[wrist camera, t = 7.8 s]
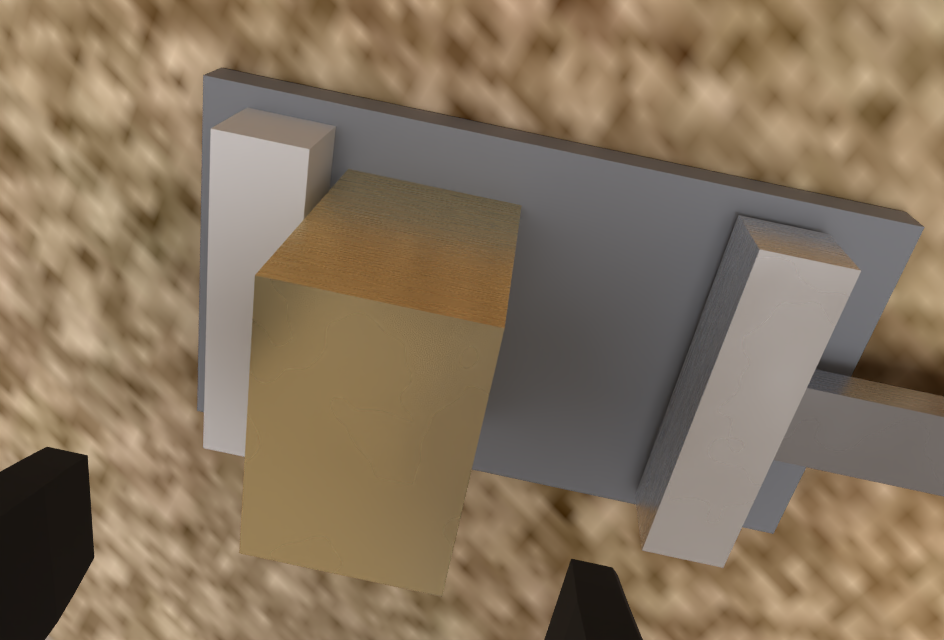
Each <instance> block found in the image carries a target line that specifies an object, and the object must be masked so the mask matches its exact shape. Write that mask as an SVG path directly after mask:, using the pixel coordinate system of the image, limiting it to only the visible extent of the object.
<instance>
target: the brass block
mask: <svg viewBox="0 0 944 640" xmlns="http://www.w3.org/2000/svg"><path fill="white" fill-rule="evenodd" d="M521 206H522V205H517V204H513V203H508V202H503V201H498V200H494V199H489V198H484V197H480V196H475V195H470V194H465V193H461V192H456V191H451V190H446V189H442V188H437V187H432V186H427V185H423V184H418V183H413V182H409V181H404V180H399V179H394V178H390V177H385V176H380V175H375V174H371V173H366V172H361V171H356V170H352V169H348V170H347V171H346V172H345V173H344V174H343V176H342V177H341V178H340V179H339V180H338V181H337V182H336V184H335V185H334V186H333V187H332V188H331V189H330V190H329V191H328V193H327V194H326V195H325V196H324V197H323V198H322V199H321V201H320V202H319V203H318V204H317V205H316V206H315V207H314V209H313V210H312V211H311V212H310V213H309V214H308V215H307V216H306V218H305V219H304V220H303V221H302V222H301V223H300V224H299V226H298V227H297V228H296V229H295V230H294V231H293V232H292V234H291V235H290V236H289V237H288V238H287V239H286V240H285V241H284V243H283V244H282V245H281V246H280V247H279V248H278V249H277V251H276V252H275V253H274V254H273V255H272V256H271V257H270V259H269V260H268V261H267V262H266V263H265V264H264V265H263V266H262V268H261V269H260V270H259V271H258V272H257V273H256V274H255V281H254V299H253V317H252V335H251V353H250V371H249V389H248V407H247V425H246V443H245V461H244V479H243V497H242V515H241V533H240V551H239V553H241V554H245V555H250V556H255V557H259V558H264V559H269V560H273V561H278V562H283V563H287V564H292V565H297V566H301V567H306V568H311V569H315V570H320V571H325V572H329V573H334V574H339V575H343V576H348V577H353V578H357V579H362V580H367V581H371V582H376V583H381V584H385V585H390V586H395V587H399V588H404V589H409V590H413V591H418V592H423V593H427V594H432V595H436V596H441V597H442V595H443V590H444V586H445V582H446V577H447V573H448V569H449V565H450V560H451V556H452V552H453V547H454V543H455V539H456V535H457V530H458V526H459V522H460V517H461V513H462V509H463V505H464V500H465V496H466V492H467V487H468V483H469V479H470V475H471V470H472V466H473V462H474V457H475V453H476V449H477V444H478V440H479V436H480V432H481V427H482V423H483V419H484V414H485V410H486V406H487V402H488V397H489V393H490V389H491V384H492V380H493V376H494V372H495V367H496V363H497V359H498V354H499V350H500V346H501V342H502V337H503V333H504V329H505V322H506V315H507V307H508V300H509V293H510V286H511V278H512V271H513V264H514V257H515V249H516V242H517V235H518V228H519V221H520V213H521Z"/></svg>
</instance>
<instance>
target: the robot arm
mask: <svg viewBox="0 0 944 640" xmlns="http://www.w3.org/2000/svg"><path fill="white" fill-rule="evenodd" d="M93 559H94V545H93V530H92V515H91V500H90V485H89V470H88V455H83V454H79V453H74V452H69V451H65V450H60V449H55V448H51V447H46V448H44V449H42V450H40V451H38V452H36V453H34V454H32V455H30V456H28V457H26V458H25V459H23V460H21V461H19V462H17V463H15V464H13V465H12V466H10V467H8V468H6V469H4V470H3V471H1V472H0V640H45V639H46V638H47V636H48V635H49V633H50V632H51V631H52V629H53V628H54V626H55V625H56V624H57V622H58V621H59V619H60V617H61V615H62V614H63V612H64V610H65V609H66V607H67V605H68V604H69V602H70V600H71V598H72V597H73V595H74V593H75V592H76V590H77V588H78V586H79V584H80V583H81V581H82V579H83V577H84V575H85V574H86V572H87V570H88V568H89V566H90V564H91V563H92V561H93ZM544 640H643V639H642V637H641V634H640V632H639V629H638V627H637V624H636V622H635V620H634V617H633V615H632V612H631V609H630V607H629V604H628V602H627V599H626V596H625V594H624V591H623V589H622V586H621V583H620V580H619V578H618V575H617V573H616V572H615V570H614V569H613V568H612V567H607V566H603V565H598V564H593V563H589V562H584V561H579V560H575V559H571V561H570V564H569V567H568V570H567V573H566V576H565V579H564V582H563V585H562V588H561V591H560V594H559V597H558V600H557V603H556V606H555V609H554V612H553V615H552V618H551V621H550V624H549V627H548V630H547V633H546V636H545V639H544Z"/></svg>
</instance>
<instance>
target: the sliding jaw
mask: <svg viewBox="0 0 944 640" xmlns="http://www.w3.org/2000/svg"><path fill="white" fill-rule="evenodd" d="M860 273H861V270H860V269H859V268H858V267H857V265H856V264H855V263H854V262H853V261H852V260H851V259H850V257H849V256H848V255H847V254H846V253H845V252H844V251H843V250H842V248H841V247H840V246H839V245H838V244H837V243H836V242H835V240H834V239H833V238H832V237H831V236H830V235H829V234H826V233H821V232H816V231H811V230H807V229H802V228H797V227H792V226H788V225H783V224H778V223H773V222H769V221H764V220H759V219H754V218H750V217H745V216H740V215H738V218H737V220H736V223H735V226H734V228H733V231H732V234H731V237H730V239H729V242H728V245H727V247H726V250H725V253H724V256H723V258H722V261H721V264H720V266H719V269H718V272H717V275H716V277H715V280H714V283H713V285H712V288H711V291H710V294H709V296H708V299H707V302H706V304H705V307H704V310H703V313H702V315H701V318H700V321H699V323H698V326H697V329H696V332H695V334H694V337H693V340H692V343H691V345H690V348H689V351H688V353H687V356H686V359H685V362H684V364H683V367H682V370H681V372H680V375H679V378H678V381H677V383H676V386H675V389H674V391H673V394H672V397H671V400H670V402H669V405H668V408H667V410H666V413H665V416H664V419H663V421H662V424H661V427H660V429H659V432H658V435H657V438H656V440H655V443H654V446H653V448H652V451H651V454H650V457H649V459H648V462H647V465H646V467H645V470H644V473H643V476H642V478H641V481H640V484H639V486H638V489H637V492H636V495H635V500H636V508H637V516H638V523H639V531H640V538H641V546H642V550H643V551H647V552H652V553H657V554H661V555H666V556H671V557H675V558H680V559H685V560H689V561H694V562H699V563H703V564H708V565H713V566H717V567H722V568H723V567H724V565H725V563H726V561H727V558H728V556H729V554H730V552H731V550H732V548H733V546H734V543H735V541H736V539H737V537H738V535H739V533H740V530H741V528H742V526H743V524H744V522H745V520H746V518H747V515H748V513H749V511H750V509H751V507H752V505H753V503H754V500H755V498H756V496H757V494H758V492H759V490H760V488H761V485H762V483H763V481H764V479H765V477H766V475H767V472H768V470H769V468H770V466H771V464H772V462H773V460H775V461H780V462H785V463H789V464H794V465H799V466H804V467H808V468H813V469H818V470H822V471H827V472H832V473H836V474H841V475H846V476H850V477H855V478H860V479H865V480H869V481H874V482H879V483H883V484H888V485H893V486H897V487H902V488H907V489H911V490H916V491H921V492H926V493H930V494H935V495H940V496H944V396H939V395H934V394H930V393H925V392H920V391H916V390H911V389H906V388H901V387H897V386H892V385H887V384H883V383H878V382H873V381H868V380H864V379H859V378H854V377H850V376H845V375H840V374H835V373H831V372H826V371H821V370H817V369H816V367H817V365H818V363H819V361H820V359H821V356H822V354H823V352H824V350H825V348H826V346H827V343H828V341H829V339H830V337H831V335H832V333H833V331H834V328H835V326H836V324H837V322H838V320H839V318H840V316H841V313H842V311H843V309H844V307H845V305H846V303H847V300H848V298H849V296H850V294H851V292H852V290H853V288H854V285H855V283H856V281H857V279H858V277H859V275H860Z"/></svg>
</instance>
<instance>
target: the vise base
mask: <svg viewBox="0 0 944 640" xmlns="http://www.w3.org/2000/svg"><path fill="white" fill-rule="evenodd" d="M348 169H352V170H356V171H361V172H366V173H371V174H375V175H380V176H385V177H390V178H394V179H399V180H404V181H409V182H413V183H418V184H423V185H427V186H432V187H437V188H442V189H446V190H451V191H456V192H461V193H465V194H470V195H475V196H480V197H484V198H489V199H494V200H498V201H503V202H508V203H513V204H517V205H522V206H521V213H520V221H519V228H518V235H517V242H516V249H515V257H514V264H513V271H512V278H511V286H510V293H509V300H508V307H507V315H506V322H505V329H504V333H503V337H502V342H501V346H500V350H499V354H498V359H497V363H496V367H495V372H494V376H493V380H492V384H491V389H490V393H489V397H488V402H487V406H486V410H485V414H484V419H483V423H482V427H481V432H480V436H479V440H478V444H477V449H476V453H475V457H474V462H473V466H472V469H473V470H477V471H482V472H487V473H491V474H496V475H501V476H505V477H510V478H515V479H520V480H524V481H529V482H534V483H538V484H543V485H548V486H552V487H557V488H562V489H566V490H571V491H576V492H580V493H585V494H590V495H594V496H599V497H604V498H608V499H613V500H618V501H622V502H627V503H632V504H636V500H635V495H636V492H637V489H638V486H639V484H640V481H641V478H642V476H643V473H644V470H645V467H646V465H647V462H648V459H649V457H650V454H651V451H652V448H653V446H654V443H655V440H656V438H657V435H658V432H659V429H660V427H661V424H662V421H663V419H664V416H665V413H666V410H667V408H668V405H669V402H670V400H671V397H672V394H673V391H674V389H675V386H676V383H677V381H678V378H679V375H680V372H681V370H682V367H683V364H684V362H685V359H686V356H687V353H688V351H689V348H690V345H691V343H692V340H693V337H694V334H695V332H696V329H697V326H698V323H699V321H700V318H701V315H702V313H703V310H704V307H705V304H706V302H707V299H708V296H709V294H710V291H711V288H712V285H713V283H714V280H715V277H716V275H717V272H718V269H719V266H720V264H721V261H722V258H723V256H724V253H725V250H726V247H727V245H728V242H729V239H730V237H731V234H732V231H733V228H734V226H735V223H736V220H737V218H738V215H740V216H745V217H750V218H754V219H759V220H764V221H769V222H773V223H778V224H783V225H788V226H792V227H797V228H802V229H807V230H811V231H816V232H821V233H826V234H829V235H830V236H831V237H832V238H833V239H834V240H835V242H836V243H837V244H838V245H839V246H840V247H841V248H842V250H843V251H844V252H845V253H846V254H847V255H848V256H849V257H850V259H851V260H852V261H853V262H854V263H855V264H856V265H857V267H858V268H859V269H860V270H861V273H860V275H859V277H858V279H857V281H856V283H855V285H854V288H853V290H852V292H851V294H850V296H849V298H848V300H847V303H846V305H845V307H844V309H843V311H842V313H841V316H840V318H839V320H838V322H837V324H836V326H835V328H834V331H833V333H832V335H831V337H830V339H829V341H828V343H827V346H826V348H825V350H824V352H823V354H822V356H821V359H820V361H819V363H818V365H817V367H816V369H817V370H821V371H826V372H831V373H835V374H840V375H845V376H850V377H851V375H852V373H853V371H854V369H855V367H856V365H857V363H858V361H859V359H860V357H861V355H862V353H863V351H864V349H865V347H866V345H867V343H868V341H869V339H870V337H871V335H872V333H873V331H874V329H875V327H876V325H877V323H878V320H879V318H880V316H881V314H882V312H883V310H884V308H885V306H886V304H887V302H888V300H889V298H890V296H891V294H892V292H893V290H894V288H895V286H896V284H897V282H898V280H899V278H900V276H901V274H902V272H903V270H904V268H905V266H906V264H907V262H908V260H909V258H910V256H911V254H912V252H913V250H914V248H915V245H916V243H917V241H918V239H919V237H920V235H921V233H922V231H923V229H924V226H922V225H921V224H920V223H919V222H917V221H916V220H915V219H914V218H913V217H911V216H910V215H909V214H908V213H907V212H903V211H898V210H894V209H889V208H884V207H879V206H875V205H870V204H865V203H860V202H856V201H851V200H846V199H841V198H837V197H832V196H827V195H823V194H818V193H813V192H808V191H804V190H799V189H794V188H789V187H785V186H780V185H775V184H770V183H766V182H761V181H756V180H751V179H747V178H742V177H737V176H732V175H728V174H723V173H718V172H713V171H709V170H704V169H699V168H694V167H690V166H685V165H680V164H675V163H671V162H666V161H661V160H656V159H652V158H647V157H642V156H638V155H633V154H628V153H623V152H619V151H614V150H609V149H604V148H600V147H595V146H590V145H585V144H581V143H576V142H571V141H566V140H562V139H557V138H552V137H547V136H543V135H538V134H533V133H528V132H524V131H519V130H514V129H509V128H505V127H500V126H495V125H490V124H486V123H481V122H476V121H471V120H467V119H462V118H457V117H452V116H448V115H443V114H438V113H434V112H429V111H424V110H419V109H415V108H410V107H405V106H400V105H396V104H391V103H386V102H381V101H377V100H372V99H367V98H362V97H358V96H353V95H348V94H343V93H339V92H334V91H329V90H324V89H320V88H315V87H310V86H305V85H301V84H296V83H291V82H286V81H282V80H277V79H272V78H267V77H263V76H258V75H253V74H248V73H244V72H239V71H234V70H230V69H225V68H220V69H217V70H215V71H212V72H210V73H208V74H205V75H203V130H202V184H201V239H200V294H199V348H198V403H197V411H201V412H204V437H203V448H206V449H210V450H215V451H220V452H224V453H229V454H234V455H238V456H243V457H245V443H246V425H247V407H248V389H249V371H250V353H251V335H252V317H253V299H254V281H255V274H256V273H257V272H258V271H259V270H260V269H261V268H262V266H263V265H264V264H265V263H266V262H267V261H268V260H269V259H270V257H271V256H272V255H273V254H274V253H275V252H276V251H277V249H278V248H279V247H280V246H281V245H282V244H283V243H284V241H285V240H286V239H287V238H288V237H289V236H290V235H291V234H292V232H293V231H294V230H295V229H296V228H297V227H298V226H299V224H300V223H301V222H302V221H303V220H304V219H305V218H306V216H307V215H308V214H309V213H310V212H311V211H312V210H313V209H314V207H315V206H316V205H317V204H318V203H319V202H320V201H321V199H322V198H323V197H324V196H325V195H326V194H327V193H328V191H329V190H330V189H331V188H332V187H333V186H334V185H335V184H336V182H337V181H338V180H339V179H340V178H341V177H342V176H343V174H344V173H345V172H346V171H347V170H348ZM805 468H806V467H804V466H799V465H794V464H789V463H785V462H780V461H775V460H773V462H772V464H771V466H770V468H769V470H768V472H767V475H766V477H765V479H764V481H763V483H762V485H761V488H760V490H759V492H758V494H757V496H756V498H755V500H754V503H753V505H752V507H751V509H750V511H749V513H748V515H747V518H746V520H745V522H744V524H743V526H742V527H744V528H749V529H754V530H758V531H763V532H768V533H772V534H773V533H774V531H775V529H776V527H777V525H778V523H779V521H780V519H781V517H782V515H783V513H784V511H785V509H786V507H787V505H788V503H789V501H790V499H791V497H792V495H793V493H794V491H795V489H796V487H797V485H798V483H799V481H800V479H801V477H802V475H803V473H804V470H805Z"/></svg>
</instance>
